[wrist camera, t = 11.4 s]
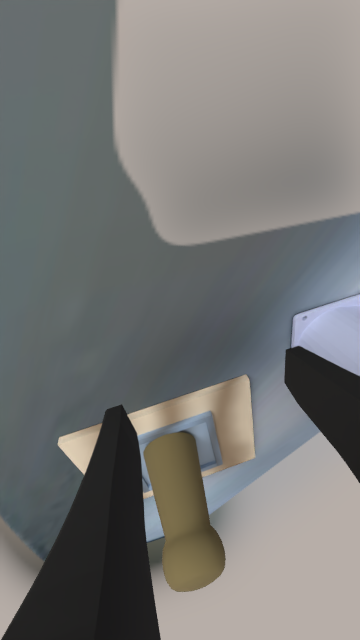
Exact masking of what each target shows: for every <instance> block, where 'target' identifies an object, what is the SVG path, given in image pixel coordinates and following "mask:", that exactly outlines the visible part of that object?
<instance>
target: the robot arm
mask: <svg viewBox="0 0 360 640" xmlns="http://www.w3.org/2000/svg"><path fill="white" fill-rule="evenodd" d="M303 317H304V318H303ZM285 384H286V386H287V387H288V389H289V390H290V392H291V394H292V395H293V397H294V398H295V400H296V401H297V403H298V404H299V405H300V407H301V408H302V409H303V410H304V412H305V413H306V414H307V415H308V416H309V418H310V419H311V420H312V421H313V423H314V424H315V425H316V426H317V427H318V429H319V430H320V431H321V432H322V433H323V435H324V436H325V437H326V438H327V440H328V441H329V442H330V443H331V444H332V446H333V447H334V448H335V449H336V450H337V452H338V453H339V454H340V456H341V457H342V458H343V460H344V461H345V462H346V464H347V465H348V467H349V468H350V470H351V471H352V472H353V474H354V475H355V476H356V478H357V480H358V481H359V483H360V294H358V295H355V296H352V297H349V298H346V299H343V300H340V301H337V302H333V303H330V304H327V305H324V306H321V307H318V308H315V309H312V310H309V311H305V312H302V313H299V314H297V315H295V316H294V318H293V328H292V345H291V348H290V349H287V350H286V358H285ZM1 640H161V638H160V633H159V626H158V619H157V613H156V607H155V600H154V594H153V586H152V579H151V572H150V565H149V558H148V551H147V542H146V534H145V522H144V502H143V483H142V464H141V454H140V448H139V442H138V436H137V432H136V430H135V428H134V426H133V425H132V423H131V421H130V419H129V417H128V415H127V413H126V411H125V410H124V408H123V406H122V405H119V406H116V407H113V408H110V409H107V410H106V412H105V415H104V419H103V422H102V426H101V429H100V432H99V435H98V438H97V441H96V444H95V447H94V450H93V453H92V456H91V459H90V461H89V464H88V467H87V470H86V472H85V475H84V477H83V480H82V482H81V485H80V487H79V490H78V492H77V495H76V497H75V500H74V502H73V504H72V506H71V509H70V511H69V513H68V515H67V518H66V520H65V522H64V524H63V526H62V528H61V530H60V532H59V535H58V537H57V539H56V541H55V543H54V545H53V547H52V549H51V551H50V552H49V554H48V556H47V558H46V560H45V562H44V564H43V566H42V568H41V570H40V572H39V574H38V576H37V577H36V579H35V581H34V583H33V585H32V587H31V589H30V590H29V592H28V594H27V596H26V597H25V599H24V601H23V603H22V604H21V606H20V608H19V610H18V611H17V613H16V615H15V616H14V618H13V620H12V622H11V624H10V625H9V627H8V629H7V631H6V632H5V634H4V636H3V637H2V639H1Z"/></svg>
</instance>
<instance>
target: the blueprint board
mask: <svg viewBox="0 0 360 640" xmlns="http://www.w3.org/2000/svg"><path fill="white" fill-rule="evenodd" d="M127 415H128V417H129V419H130V421H131V423H132V425H133V426H134V428H135V430H136V432H137V436H138V442H139V448H140V454H141V464H142V483H143V499H145V498H148V497H150V496H153V495H154V494H153V490H152V486H151V482H150V479H149V475H148V471H147V467H146V463H145V460H144V455H143V452H144V450H145V447H146V446H147V445H148V444H149V443H150V442H152V441H153V440H155V439H157V438H158V437H161V436H163V435H166V434H170V433H177V432H184V433H188V434H191V435H192V436H194V438H195V440H196V445H197V451H198V456H199V462H200V468H201V474H202V477H205V476H207V475H210V474H213V473H216V472H218V471H221V470H224V469H226V468H229V467H232V466H234V465H237V464H240V463H243V462H245V461H248V460H251V459H253V458H255V449H254V435H253V421H252V407H251V393H250V380H249V378H248V377H247V375H243V376H240V377H237V378H234V379H231V380H228V381H225V382H222V383H219V384H216V385H213V386H210V387H207V388H204V389H201V390H198V391H196V392H193V393H190V394H187V395H184V396H181V397H178V398H175V399H172V400H169V401H166V402H163V403H160V404H157V405H154V406H151V407H148V408H145V409H142V410H139V411H136V412H133V413H130V414H127ZM101 426H102V423H101V424H98V425H95V426H92V427H89V428H86V429H83V430H80V431H77V432H74V433H71V434H68V435H65V436H62V437H59V441H58V446H59V447H60V448H61V449H62V450H63V451H64V453H65V454H66V455H67V456H68V457H69V458H70V459H71V460H72V462H73V463H74V464H75V465H76V466H77V467H78V468H79V469H80V471H81V472H82V473H83V474H84V475H85V472H86V470H87V467H88V464H89V461H90V459H91V456H92V453H93V450H94V447H95V444H96V441H97V438H98V435H99V432H100V429H101Z"/></svg>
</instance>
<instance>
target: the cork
mask: <svg viewBox="0 0 360 640" xmlns="http://www.w3.org/2000/svg"><path fill="white" fill-rule="evenodd" d="M143 455H144V460H145V463H146V467H147V471H148V475H149V479H150V482H151V486H152V490H153V494H154V498H155V501H156V505H157V509H158V513H159V516H160V520H161V524H162V528H163V532H164V535H165V539H166V542H165V545H164V548H163V559H162V563H163V571H164V575H165V578H166V581H167V583H168V584H169V586H170V587H171V589H173V590H175V591H177V592H187V591H194V590H197V589H200V588H203V587H205V586H207V585H208V584H210V583H211V582H213V581H214V580H215V579H217V578H218V577H219V576H220V575H221V573H222V572H223V570H224V568H225V567H224V566H225V551H224V547H223V544H222V541H221V539H220V537H219V535H218V533H217V532H216V530H215V529H214V528H213V527H212V526H211V525H210V520H209V514H208V508H207V503H206V497H205V491H204V485H203V479H202V474H201V468H200V462H199V456H198V451H197V445H196V440H195V438H194V436H192V435H191V434H188V433H184V432H177V433H170V434H166V435H163V436H161V437H158V438H157V439H155V440H153V441H152V442H150V443H149V444H148V445H147V446H146V447H145V450H144V452H143Z"/></svg>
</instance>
